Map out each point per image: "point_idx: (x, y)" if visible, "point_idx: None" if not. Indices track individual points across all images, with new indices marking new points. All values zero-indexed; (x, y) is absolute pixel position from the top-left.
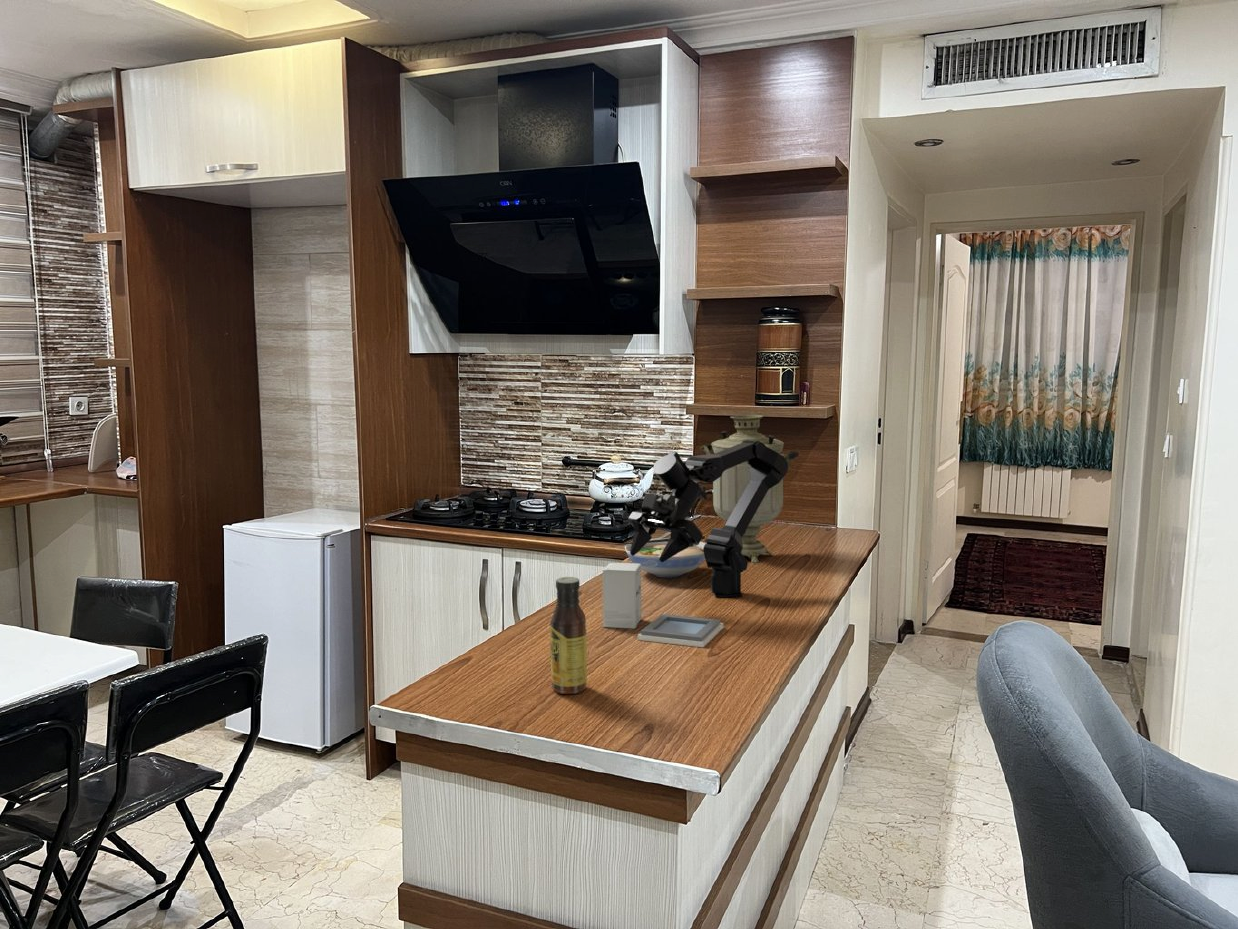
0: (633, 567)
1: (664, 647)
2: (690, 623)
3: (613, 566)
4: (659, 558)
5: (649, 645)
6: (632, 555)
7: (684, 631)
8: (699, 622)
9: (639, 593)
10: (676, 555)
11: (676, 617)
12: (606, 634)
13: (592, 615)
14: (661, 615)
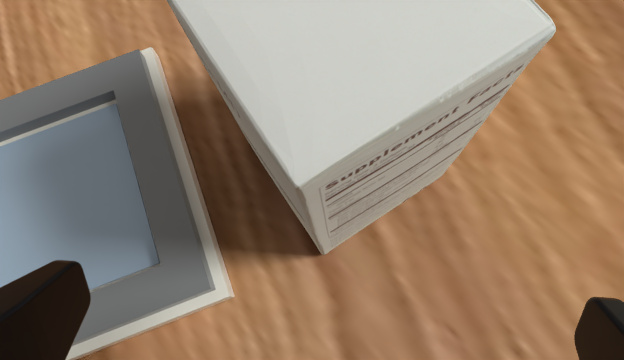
0: (232, 23)
1: (36, 63)
2: None
3: None
4: (65, 263)
5: (90, 45)
6: (580, 326)
7: (19, 189)
8: None
9: (266, 168)
10: None
11: (121, 286)
12: None
13: (530, 155)
14: (198, 263)
